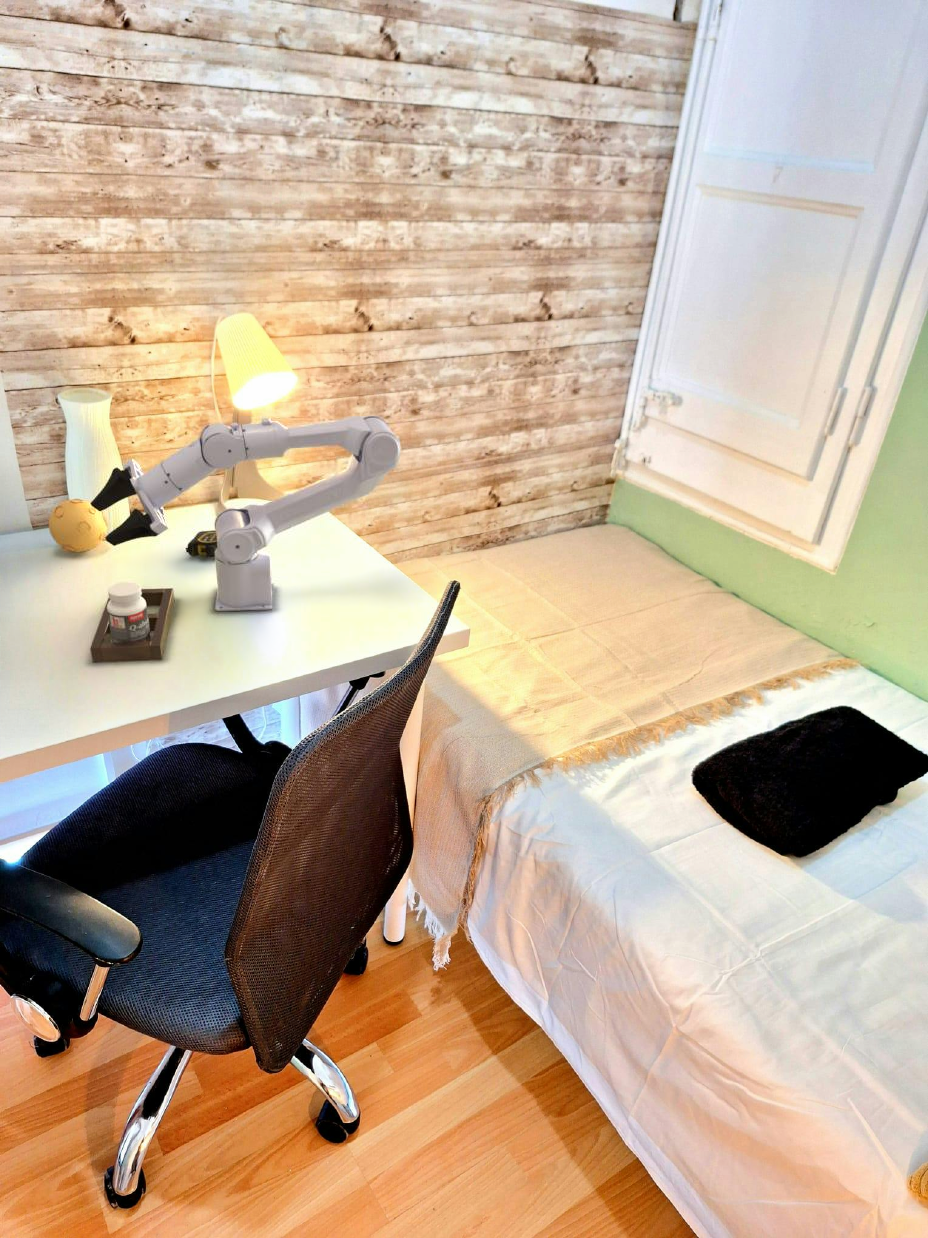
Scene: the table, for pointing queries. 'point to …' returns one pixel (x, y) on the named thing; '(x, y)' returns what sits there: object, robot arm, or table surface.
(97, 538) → the stress ball
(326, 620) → the table surface
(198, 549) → the tape measure
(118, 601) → the pill bottle
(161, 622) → the holder
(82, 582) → the table surface
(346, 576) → the table surface
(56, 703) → the table surface
